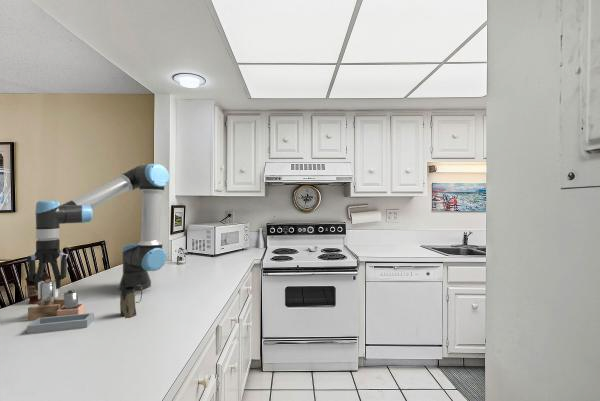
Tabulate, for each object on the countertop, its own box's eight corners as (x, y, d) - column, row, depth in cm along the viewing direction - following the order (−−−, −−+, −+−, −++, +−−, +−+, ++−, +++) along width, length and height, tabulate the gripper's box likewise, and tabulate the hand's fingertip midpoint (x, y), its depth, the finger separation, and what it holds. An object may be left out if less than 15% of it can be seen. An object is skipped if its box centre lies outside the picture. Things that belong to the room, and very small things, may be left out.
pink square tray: (84, 315, 131) (84, 303, 131) (78, 321, 125) (78, 308, 125) (64, 317, 129) (64, 305, 129) (57, 324, 123) (56, 310, 122)
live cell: (57, 304, 133) (56, 278, 133) (52, 308, 129) (52, 281, 129) (44, 305, 132) (44, 279, 132) (39, 309, 128) (39, 281, 128)
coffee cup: (35, 305, 144) (34, 276, 144) (20, 304, 146) (19, 275, 146) (53, 299, 153) (53, 272, 153) (39, 298, 154) (39, 271, 154)
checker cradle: (69, 310, 137) (69, 296, 137) (60, 319, 127) (59, 303, 127) (38, 313, 134) (38, 298, 134) (26, 322, 124) (26, 306, 124)
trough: (94, 321, 125) (93, 312, 125) (87, 329, 118) (87, 320, 118) (38, 327, 120) (38, 318, 120) (27, 335, 112) (27, 326, 112)
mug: (118, 318, 127) (118, 288, 127) (122, 313, 133) (122, 284, 133) (140, 316, 129) (140, 286, 129) (143, 312, 135) (143, 283, 135)
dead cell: (79, 315, 130) (79, 288, 130) (75, 319, 125) (75, 291, 125) (67, 316, 128) (66, 289, 128) (62, 320, 124) (62, 292, 124)
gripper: (76, 237, 137) (76, 293, 137) (26, 239, 131) (27, 296, 132) (69, 239, 129) (69, 298, 129) (16, 241, 124) (17, 302, 124)
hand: (48, 297), depth 130 cm, fingers closed on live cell, 4 cm apart
